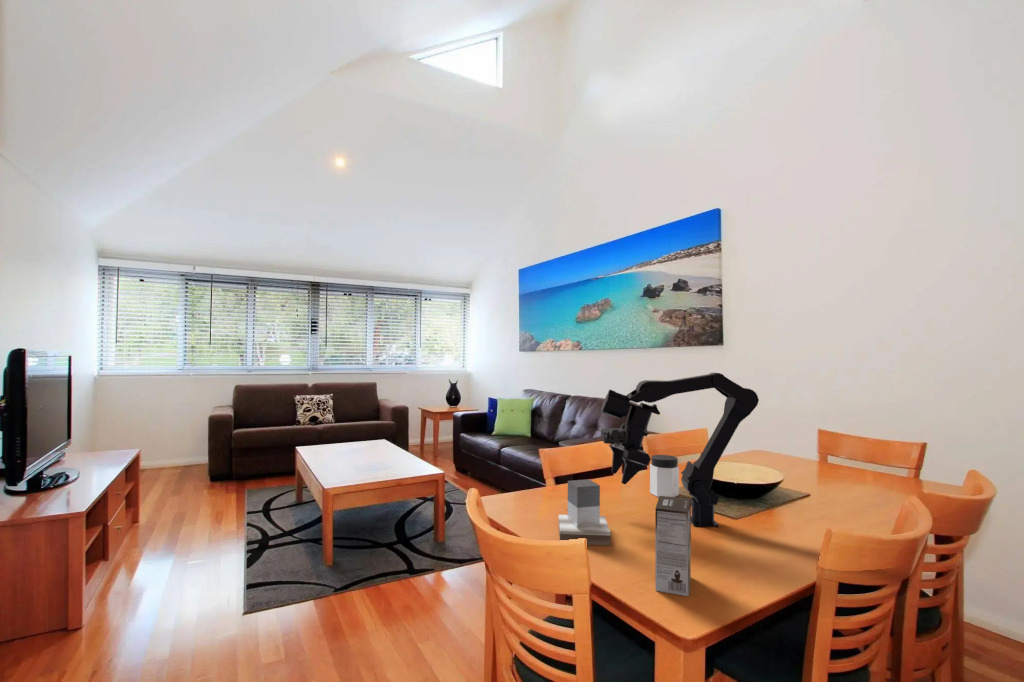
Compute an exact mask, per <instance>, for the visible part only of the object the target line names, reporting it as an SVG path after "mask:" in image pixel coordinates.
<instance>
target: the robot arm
mask: <svg viewBox="0 0 1024 682" xmlns="http://www.w3.org/2000/svg"><path fill="white" fill-rule="evenodd" d="M708 389H715V390H716V391H717V392H718V393H720V394H721V395H722V396H723V397H725V398H726V399H725V401H724V407H723V414H722V416H721V418H720V420H719V421H718V423H717V425H716V427H715V428H714V431H713V432H712V434H711V436H710V437H709V440H708V441H707V443H706V444H705V446H704V448H703V450H702V452H701V454H700V455H699V457H698V459H697V460H695V461H694V462H693V463H692V462H691V461H690V460H689V461H687V463H686V464H685V468H684V469H683V470H682V471H681V472H680V473H681V475H682V476H681V484H682V486H683V488H685V489H686V491H687V492H688V494H689V495H690V496H691V525H693V526H694V527H710V528H711V527H713V528H714V527H715V528H717V527H718V528H719V526H720V525H719V523H718V522H717V521H716V520H715V506H716V505H718V503H719V499H720V497H719V496H718V495H717V493H715V492H714V491H713V489H711V487H712V484H713V481H714V475H715V474H714V473H715V468H716V466H717V464H718V462H719V461H720V459H721V457H722V456H723V454H724V452H725V450H726V448H727V446H728V444H729V443H730V441H731V440H732V438H733V435H734V434H735V432H736V430H737V429H738V426H739V425H740V423H741V422H743V421H744V420H745V419H746V418H747V417H749V416H750V415H751V414H752V412H753V411H754V410H755V409H756V408H757V406H758V405H759V401H760V399H759V396H758V393H757V392H756V391H754V390H753V389H751V388H747V387H743V386H741V385H739V384H738V383H736V382H734V381H733V380H732V379H729V378H728V377H726V376H725V375H724V374H722V373H720V372H710V373H708V374H702V375H696V376H695V375H694V376H690V377H683V378H677V379H670V380H657V379H655V380H654V379H653V380H649V379H647V380H646V379H645V380H641V381H639V382H638V383H637V384H636V388H635V389H633V390H632V391H631V392H629V393H628V394H626V395H625V394H623V393H619V392H617V391H615V390H613V389H608V392H607V394H606V395H605V398H604V399H603V401H602V404H601V409H600V413H602V414H605V415H607V416H611V417H614V418H617V419H620V420H621V419H622V418H625V417H627V419H626V421H625V423H622V424H621V425H620V427H619V428H617V427H608V428H607V427H606V428H601V429H600V437H601V438H600V439H601V442H603V444H605V445H606V444H607V445H608V447H609V448H610V450H611V452H612V463H611V473H612V474H614V475H615V474H617V472H618V471H619V470H620V469H621V467H622V466H623V464H624V467H623V473H622V478H621V484H623V485H627V484H628V483H629V482H630V481H631V480H632V479H633V478H634V476H636V475H637V474H638V473H639V472H640V471H642V469H644V468H646V467H647V466H649V467H650V464H651V461H652V457H650V456H651V455H650V454H649V453H647V451H645V450H643V449H644V447H643V446H642V443H643V441H644V438H645V437H648V435H649V433H648V432H646V431H647V429H648V426H649V424H650V420H651V417H652V414H655V415H658V416H659V415H661V412H660V410H659V408H658V405H657V404H655V402H657V401H660V400H661V401H662V400H664V399H666V398H669V397H670V396H674V395H678V394H684V393H691V392H696V391H698V392H699V391H702V390H708ZM630 401H631V402H630ZM644 402H645V403H644ZM637 403H640V404H637ZM647 403H648V404H647ZM649 403H652V404H649ZM653 403H654V404H653Z"/></svg>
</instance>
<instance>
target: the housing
mask: <svg viewBox="0 0 1024 682" xmlns="http://www.w3.org/2000/svg"><path fill="white" fill-rule="evenodd" d="M600 494H601V485H599V483H596V482H595V481H593V480H592V479H590V478H588V479H587V478H586V479H576V480H567V515H568V521H569V522H570V523H571V524H572V525H574V526H575V527H576V528H577V529H578V528H588V527H598V526H600V516H601V509H600V508H601V504H600V501H601V498H600V497H601V495H600Z"/></svg>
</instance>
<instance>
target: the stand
mask: <svg viewBox="0 0 1024 682" xmlns="http://www.w3.org/2000/svg"><path fill="white" fill-rule="evenodd" d="M558 535H559V537H560V538H559V541H560V540H569V539H578V538H586V539H587V544H588V545H587V546H604V547H605V546H606V547H607V546H611V545H612V544H611V543H612V539H611V538H612V537H611V536H612V533H611V529H610V528H609V524H608V522H607V519H606V516H605V515H600V526H598V527H588V528H578V529H577V528H576V527H575V526H574V525H572V524H571V523H570V522H569V521H568V514H559V513H558Z"/></svg>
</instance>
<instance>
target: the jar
mask: <svg viewBox="0 0 1024 682" xmlns="http://www.w3.org/2000/svg"><path fill="white" fill-rule="evenodd" d="M678 462H679V461H678V457H676V456H673V455H671V454H670V455H669V454H654V455H651V460H650V463H649V493H650V494H652V495H654V496H655V497H657V498H659V496H668V497H678V496H680V466H679V465H678Z"/></svg>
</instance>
